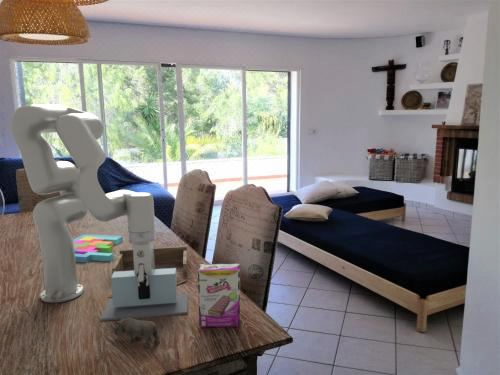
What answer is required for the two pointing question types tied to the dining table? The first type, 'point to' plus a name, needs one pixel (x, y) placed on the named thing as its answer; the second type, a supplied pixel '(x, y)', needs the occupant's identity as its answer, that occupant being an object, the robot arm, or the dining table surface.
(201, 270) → the candy bar box
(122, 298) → the pale blue rectangular block
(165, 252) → the open wooden box
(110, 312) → the mat
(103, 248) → the tetris game
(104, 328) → the dining table surface
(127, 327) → the rhino figurine
